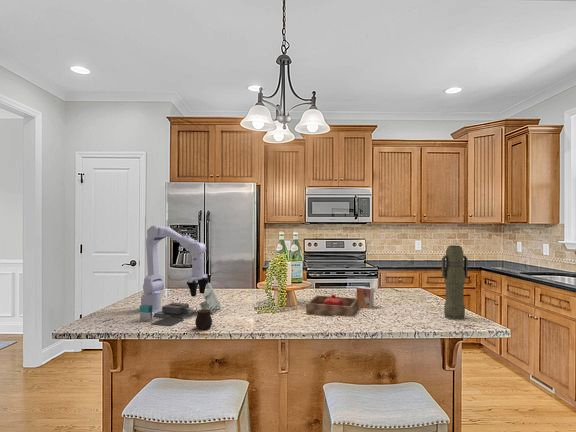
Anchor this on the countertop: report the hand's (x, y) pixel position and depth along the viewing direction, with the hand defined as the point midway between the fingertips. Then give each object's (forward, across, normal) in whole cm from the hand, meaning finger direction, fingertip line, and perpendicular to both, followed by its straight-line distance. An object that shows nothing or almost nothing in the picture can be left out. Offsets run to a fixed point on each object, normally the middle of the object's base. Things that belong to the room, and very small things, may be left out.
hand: (197, 294), depth 187 cm
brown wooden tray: (+10, +31, -61) cm, 69 cm away
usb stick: (+10, -17, +17) cm, 26 cm away
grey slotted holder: (+8, -4, +10) cm, 13 cm away
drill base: (+10, -4, +10) cm, 14 cm away
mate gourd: (+10, -20, -16) cm, 27 cm away
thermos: (+10, +32, -119) cm, 124 cm away
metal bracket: (+11, +9, -5) cm, 15 cm away
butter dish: (+10, +31, -61) cm, 69 cm away
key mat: (+10, -17, +5) cm, 20 cm away
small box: (+10, +45, -76) cm, 88 cm away
